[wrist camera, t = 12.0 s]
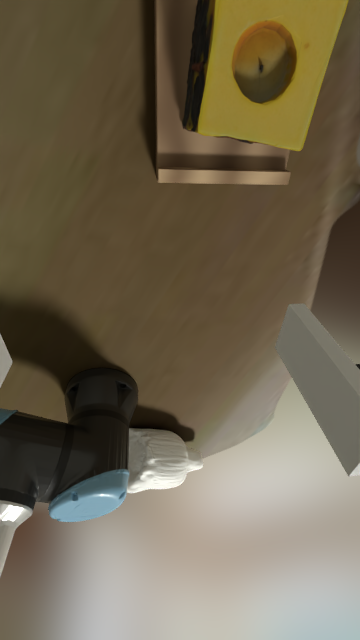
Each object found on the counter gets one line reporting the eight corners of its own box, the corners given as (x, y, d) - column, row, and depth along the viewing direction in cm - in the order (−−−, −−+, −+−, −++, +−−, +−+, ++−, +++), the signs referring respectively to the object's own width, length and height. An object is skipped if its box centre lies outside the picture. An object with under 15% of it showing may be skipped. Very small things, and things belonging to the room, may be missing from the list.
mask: (181, 447, 85) (102, 437, 74) (210, 428, 77) (126, 413, 66) (188, 501, 76) (98, 499, 64) (222, 485, 68) (126, 480, 56)
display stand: (156, 175, 38) (158, 185, 34) (153, -66, 26) (157, -101, 22) (270, 178, 40) (287, 187, 36) (317, -46, 28) (351, -74, 24)
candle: (264, 143, 34) (303, 155, 26) (180, 130, 32) (194, 139, 24) (296, 22, 28) (359, -11, 20) (195, -2, 26) (220, -49, 18)
